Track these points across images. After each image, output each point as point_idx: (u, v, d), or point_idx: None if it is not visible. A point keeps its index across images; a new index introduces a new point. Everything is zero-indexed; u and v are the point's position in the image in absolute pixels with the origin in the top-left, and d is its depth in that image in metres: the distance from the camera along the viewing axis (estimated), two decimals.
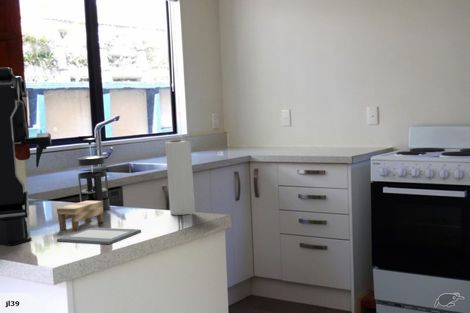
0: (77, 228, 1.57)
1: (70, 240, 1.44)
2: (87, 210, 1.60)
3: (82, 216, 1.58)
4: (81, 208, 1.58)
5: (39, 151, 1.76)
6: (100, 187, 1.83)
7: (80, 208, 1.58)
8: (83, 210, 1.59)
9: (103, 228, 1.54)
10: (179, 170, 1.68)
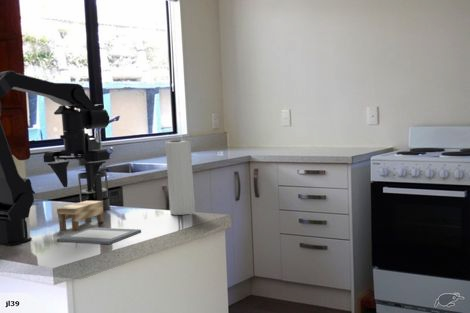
0: (77, 228, 1.57)
1: (70, 240, 1.44)
2: (87, 210, 1.60)
3: (82, 216, 1.58)
4: (81, 208, 1.58)
5: (87, 167, 1.56)
6: (100, 187, 1.83)
7: (80, 208, 1.58)
8: (83, 210, 1.59)
9: (103, 228, 1.54)
10: (179, 170, 1.68)
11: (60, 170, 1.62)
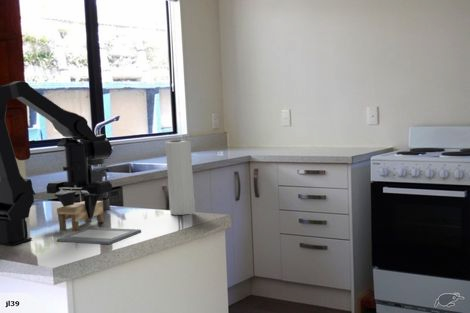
0: (77, 228, 1.57)
1: (70, 240, 1.44)
2: None
3: (82, 216, 1.58)
4: (81, 208, 1.58)
5: (86, 199, 1.58)
6: None
7: (80, 208, 1.58)
8: (83, 210, 1.59)
9: (103, 228, 1.54)
10: (179, 170, 1.69)
11: (67, 201, 1.62)
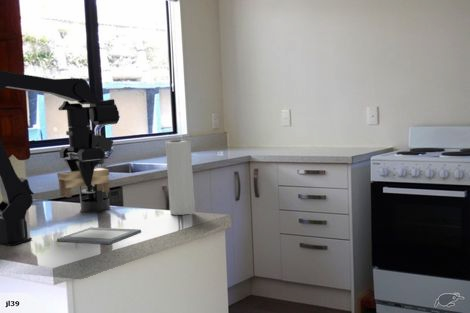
0: (69, 195, 1.51)
1: (70, 240, 1.44)
2: None
3: (76, 183, 1.52)
4: (75, 174, 1.52)
5: (78, 165, 1.51)
6: None
7: (74, 174, 1.52)
8: (78, 177, 1.52)
9: (103, 228, 1.54)
10: (179, 170, 1.68)
11: (73, 166, 1.58)
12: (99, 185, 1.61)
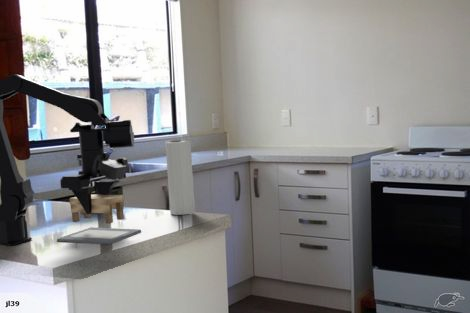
0: (74, 219, 1.47)
1: (70, 240, 1.44)
2: None
3: (79, 209, 1.46)
4: (78, 200, 1.46)
5: None
6: None
7: (77, 199, 1.46)
8: None
9: (103, 228, 1.54)
10: (179, 170, 1.68)
11: (100, 190, 1.50)
12: (117, 213, 1.47)
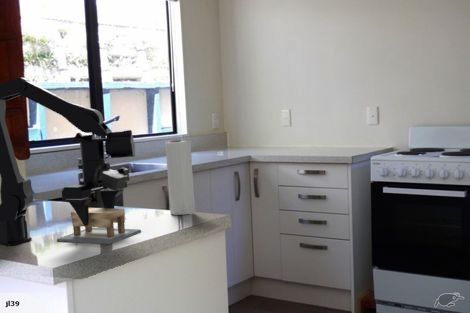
0: (75, 233, 1.47)
1: (70, 240, 1.44)
2: None
3: (80, 222, 1.46)
4: None
5: None
6: None
7: None
8: None
9: (103, 228, 1.54)
10: (179, 170, 1.69)
11: (104, 198, 1.52)
12: (118, 227, 1.47)
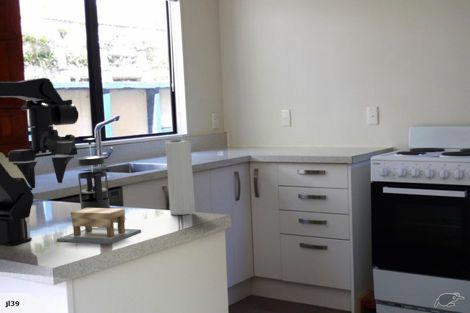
0: (75, 233, 1.47)
1: (70, 240, 1.44)
2: (87, 218, 1.45)
3: (80, 222, 1.46)
4: (79, 214, 1.46)
5: None
6: (100, 187, 1.83)
7: (78, 213, 1.46)
8: (82, 216, 1.46)
9: (103, 228, 1.54)
10: (179, 170, 1.68)
11: (55, 165, 1.60)
12: (118, 227, 1.47)
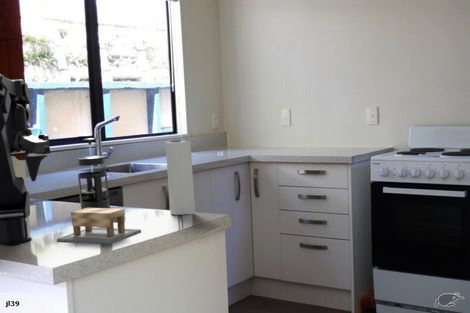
0: (75, 233, 1.47)
1: (70, 240, 1.44)
2: (87, 218, 1.45)
3: (80, 222, 1.46)
4: (79, 214, 1.46)
5: None
6: (100, 187, 1.83)
7: (78, 213, 1.46)
8: (82, 216, 1.46)
9: (103, 228, 1.54)
10: (179, 170, 1.69)
11: (29, 163, 1.65)
12: (118, 227, 1.47)
